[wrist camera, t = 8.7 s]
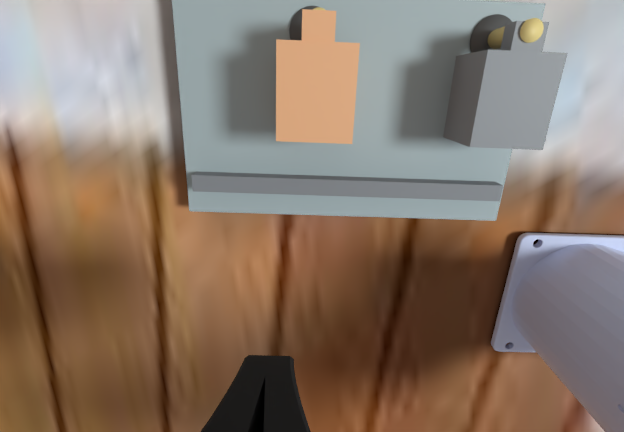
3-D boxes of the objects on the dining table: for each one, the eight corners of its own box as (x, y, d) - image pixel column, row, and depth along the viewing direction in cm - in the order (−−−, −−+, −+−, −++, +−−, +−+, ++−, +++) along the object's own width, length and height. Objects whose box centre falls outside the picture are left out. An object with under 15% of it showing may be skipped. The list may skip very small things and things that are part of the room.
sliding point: (352, 22, 15) (362, 8, 12) (344, 134, 17) (352, 144, 14) (281, 19, 15) (276, 4, 12) (280, 131, 17) (275, 141, 14)
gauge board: (529, 9, 17) (598, -16, 13) (485, 212, 20) (529, 244, 16) (179, -7, 16) (138, -37, 12) (196, 203, 20) (168, 233, 16)
